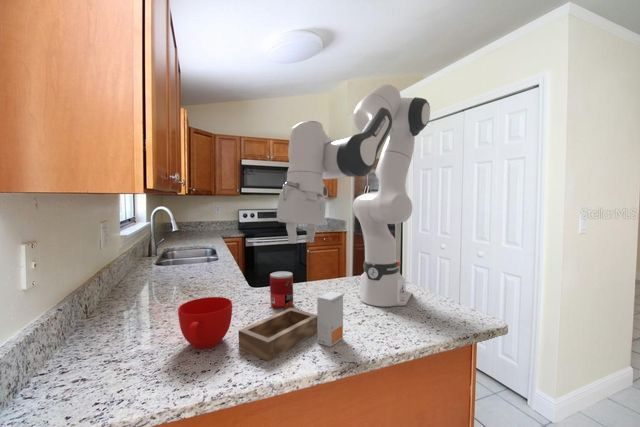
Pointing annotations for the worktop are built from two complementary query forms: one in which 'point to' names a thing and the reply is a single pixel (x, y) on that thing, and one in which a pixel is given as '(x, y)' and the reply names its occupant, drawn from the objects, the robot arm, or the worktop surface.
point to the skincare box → (329, 318)
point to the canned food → (281, 289)
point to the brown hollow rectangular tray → (277, 333)
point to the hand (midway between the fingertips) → (301, 242)
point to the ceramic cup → (205, 321)
